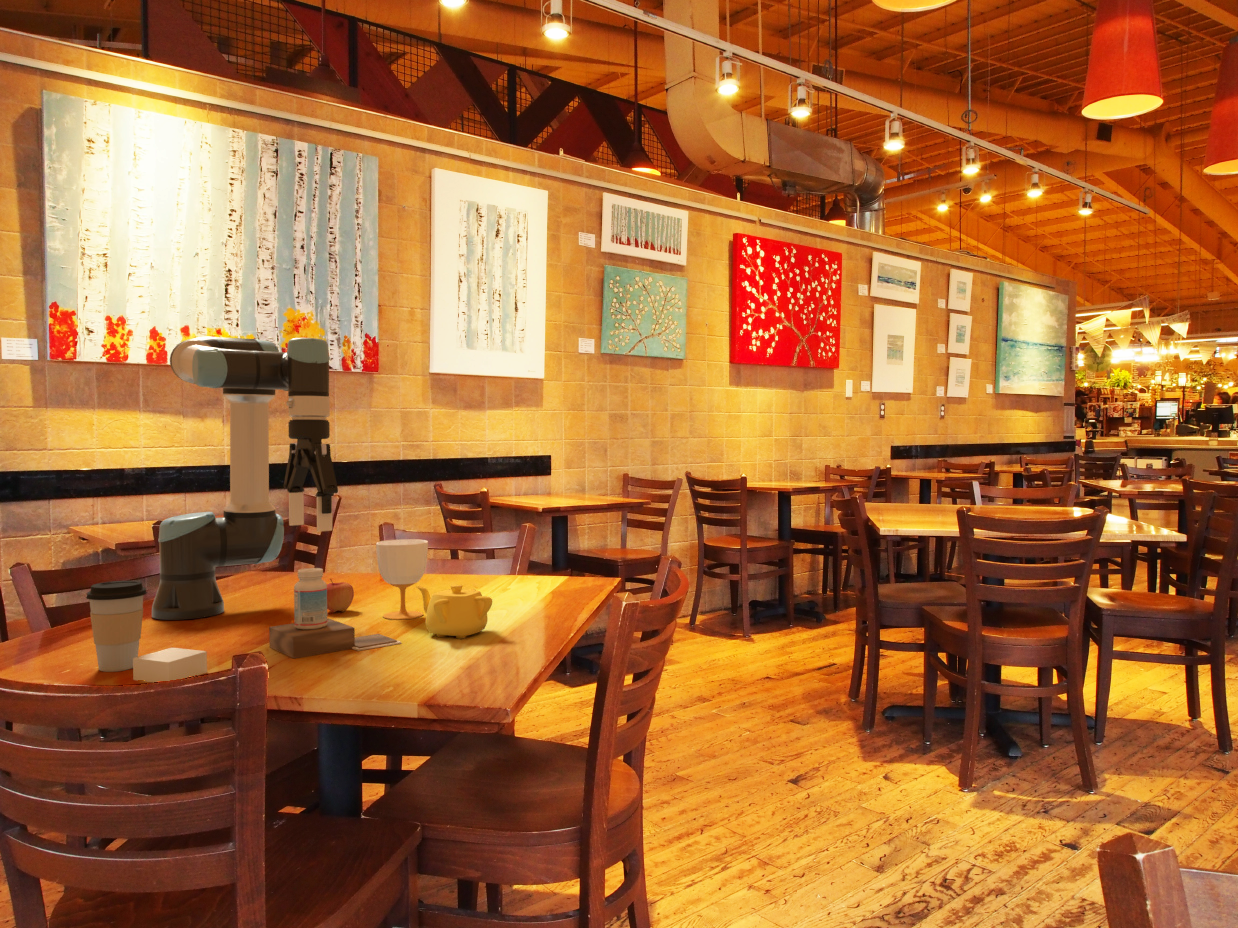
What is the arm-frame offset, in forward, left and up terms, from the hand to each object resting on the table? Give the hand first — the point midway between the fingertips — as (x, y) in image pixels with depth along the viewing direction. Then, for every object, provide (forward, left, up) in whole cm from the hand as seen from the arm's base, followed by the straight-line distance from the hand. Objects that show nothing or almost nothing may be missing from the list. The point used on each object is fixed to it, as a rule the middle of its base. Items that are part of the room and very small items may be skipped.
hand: (310, 528), depth 170 cm
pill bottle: (0, 0, -20) cm, 20 cm away
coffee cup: (-9, -32, -24) cm, 40 cm away
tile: (+4, +10, -23) cm, 26 cm away
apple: (-31, +19, -24) cm, 43 cm away
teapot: (+8, +27, -24) cm, 37 cm away
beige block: (+4, -26, -24) cm, 36 cm away
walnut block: (0, 0, -23) cm, 23 cm away
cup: (-16, +28, -24) cm, 40 cm away
